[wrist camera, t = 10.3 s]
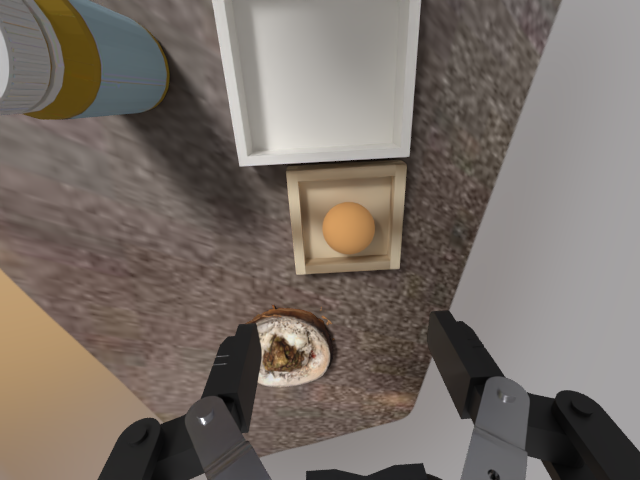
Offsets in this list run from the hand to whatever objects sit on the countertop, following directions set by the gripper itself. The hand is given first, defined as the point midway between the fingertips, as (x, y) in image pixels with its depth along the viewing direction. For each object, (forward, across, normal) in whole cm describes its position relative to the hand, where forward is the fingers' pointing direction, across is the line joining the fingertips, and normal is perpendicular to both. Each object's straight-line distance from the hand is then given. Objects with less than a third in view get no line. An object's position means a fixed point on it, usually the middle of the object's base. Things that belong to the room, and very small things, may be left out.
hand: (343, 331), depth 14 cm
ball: (+18, -2, +2) cm, 18 cm away
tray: (+19, -2, +2) cm, 19 cm away
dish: (+19, 0, -12) cm, 22 cm away
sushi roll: (+19, +6, +19) cm, 28 cm away
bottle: (+19, +16, -13) cm, 28 cm away
